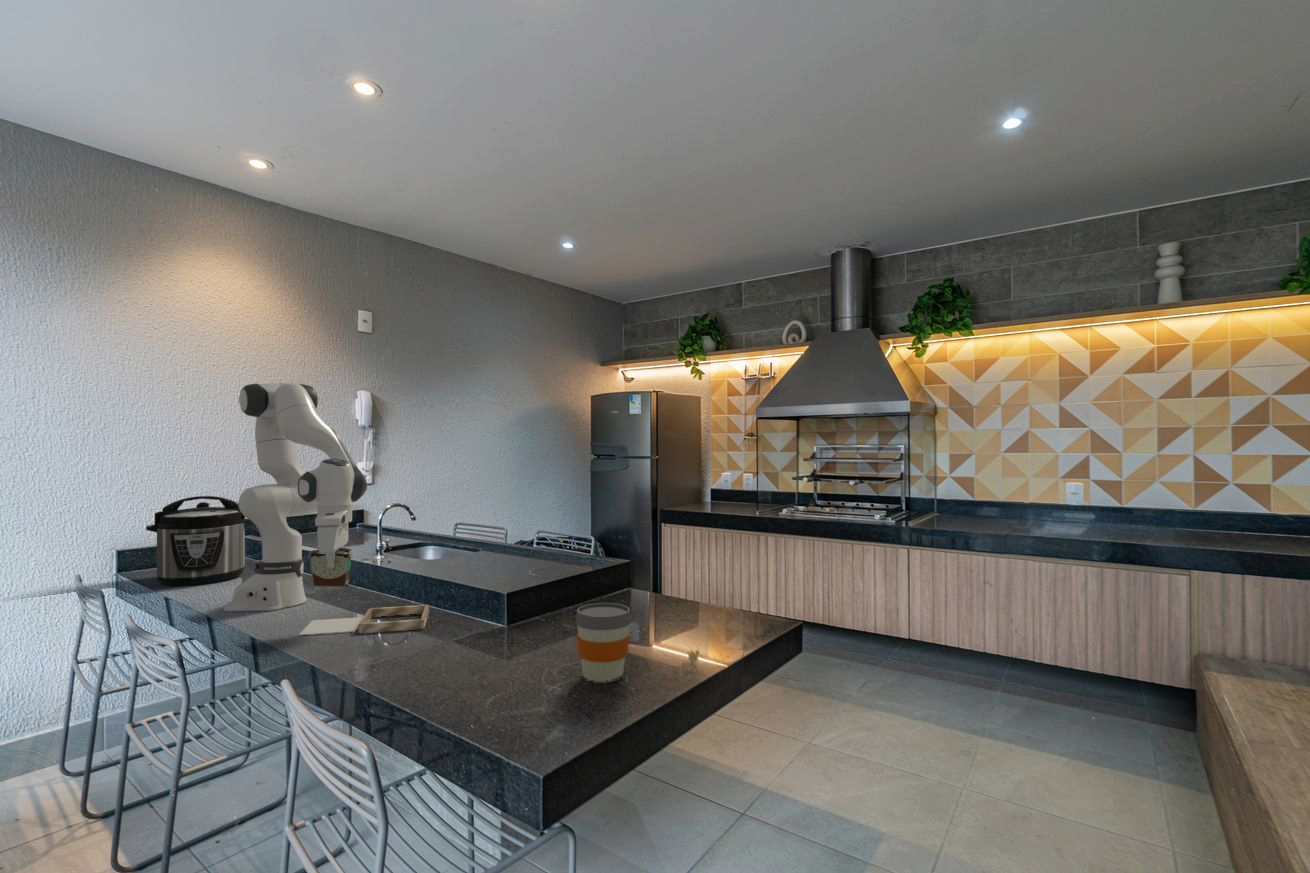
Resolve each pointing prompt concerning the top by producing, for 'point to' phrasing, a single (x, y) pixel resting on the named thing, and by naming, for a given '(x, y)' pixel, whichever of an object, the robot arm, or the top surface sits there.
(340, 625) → the mat
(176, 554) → the pressure cooker
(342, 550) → the food container
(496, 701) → the top surface
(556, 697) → the top surface
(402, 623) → the frame
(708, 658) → the top surface
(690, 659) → the top surface
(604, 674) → the reusable coffee cup
